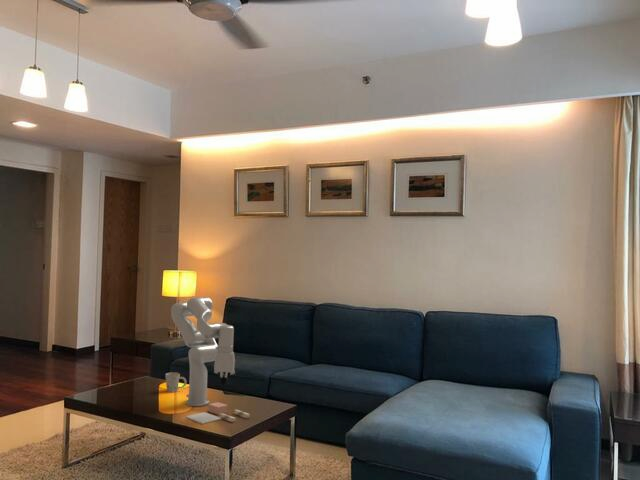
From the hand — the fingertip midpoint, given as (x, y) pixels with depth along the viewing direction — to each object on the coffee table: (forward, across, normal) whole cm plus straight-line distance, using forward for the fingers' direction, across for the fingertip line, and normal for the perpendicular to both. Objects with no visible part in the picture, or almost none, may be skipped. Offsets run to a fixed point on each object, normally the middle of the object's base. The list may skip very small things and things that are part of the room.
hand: (223, 384), depth 266 cm
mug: (+16, -38, +39) cm, 57 cm away
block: (+15, -3, +2) cm, 16 cm away
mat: (+15, -7, -10) cm, 19 cm away
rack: (+14, +8, -6) cm, 18 cm away
